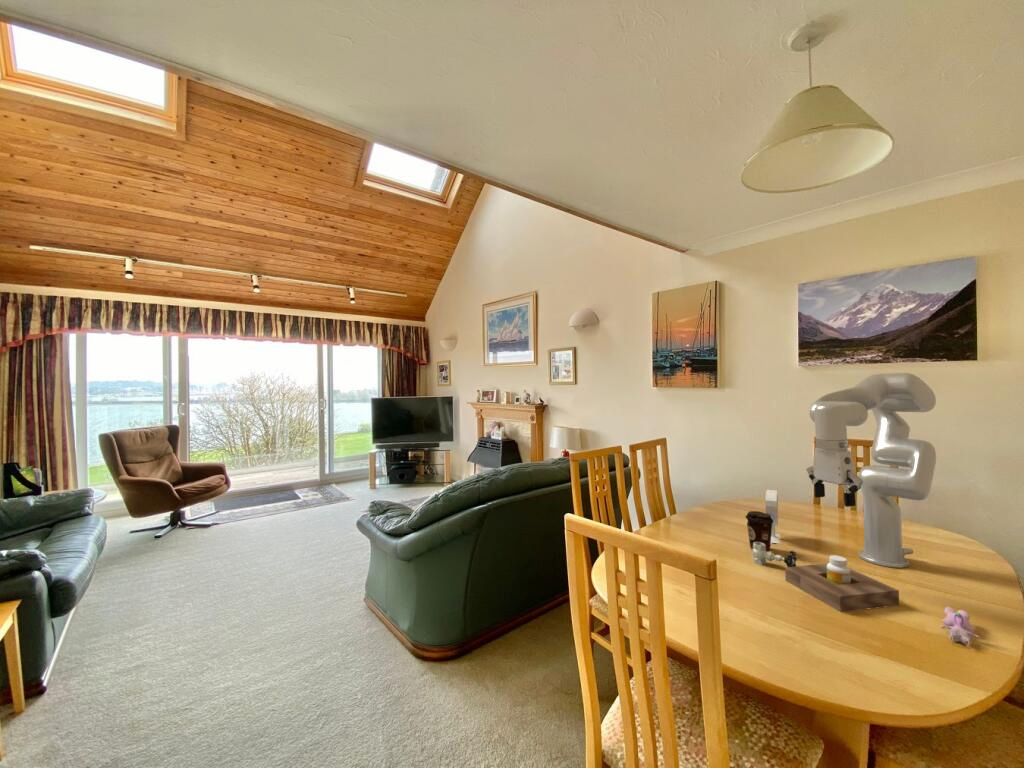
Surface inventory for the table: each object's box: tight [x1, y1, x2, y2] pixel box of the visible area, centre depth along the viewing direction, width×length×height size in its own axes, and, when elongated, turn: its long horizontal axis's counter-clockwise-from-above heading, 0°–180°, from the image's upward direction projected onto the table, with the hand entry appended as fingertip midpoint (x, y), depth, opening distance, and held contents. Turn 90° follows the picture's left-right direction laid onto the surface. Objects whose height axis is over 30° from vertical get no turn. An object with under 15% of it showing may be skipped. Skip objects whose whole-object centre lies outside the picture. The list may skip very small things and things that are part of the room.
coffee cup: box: [745, 510, 773, 552], centre depth 150 cm, size 9×8×13 cm
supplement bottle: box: [826, 554, 851, 585], centre depth 119 cm, size 5×5×10 cm
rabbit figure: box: [939, 606, 980, 650], centre depth 98 cm, size 6×6×15 cm
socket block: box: [784, 563, 900, 613], centre depth 118 cm, size 18×18×4 cm
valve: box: [751, 542, 798, 567], centre depth 136 cm, size 7×7×12 cm
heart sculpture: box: [765, 489, 781, 544], centre depth 161 cm, size 16×5×18 cm, turn 146°
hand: (834, 501), depth 125 cm, fingers open, 9 cm apart
